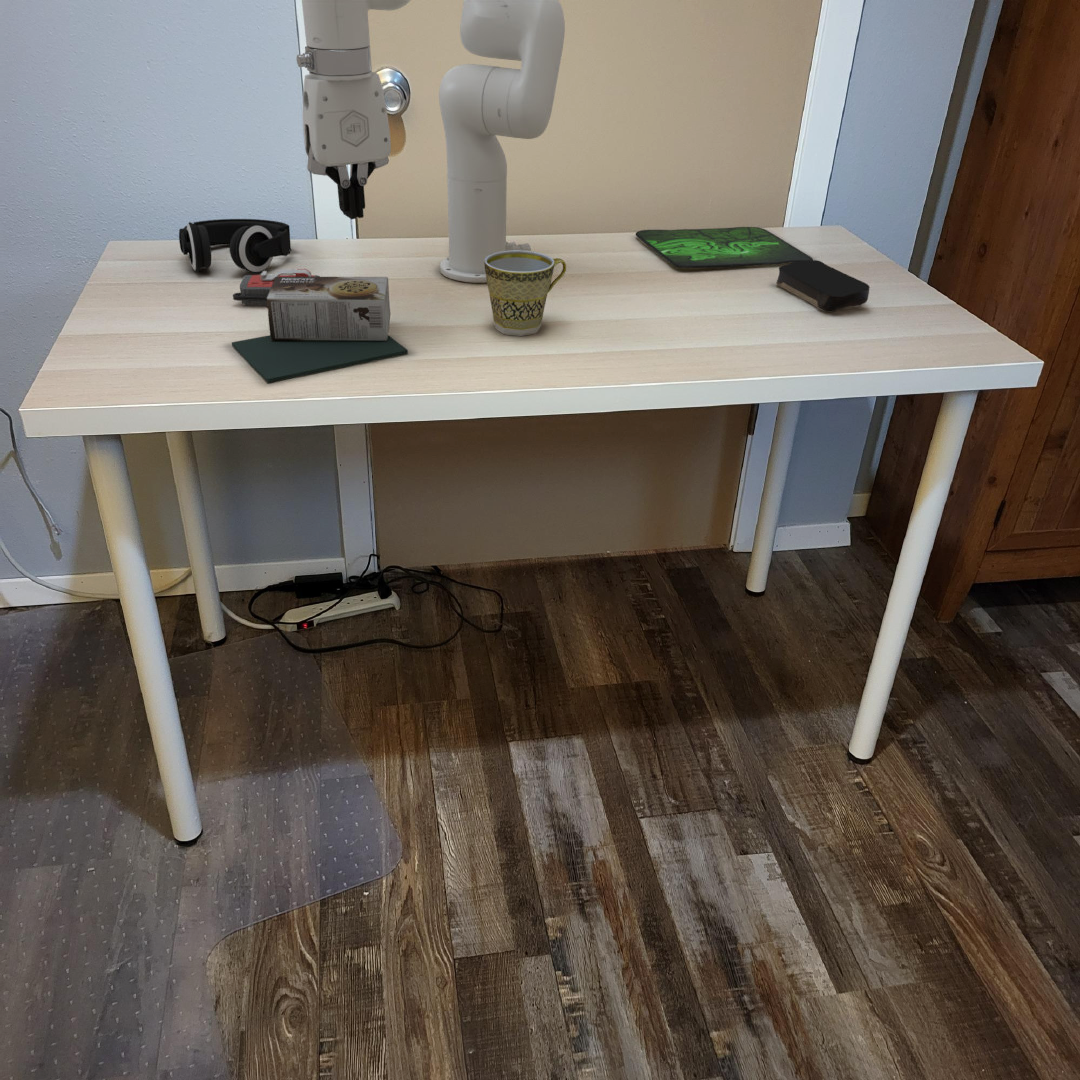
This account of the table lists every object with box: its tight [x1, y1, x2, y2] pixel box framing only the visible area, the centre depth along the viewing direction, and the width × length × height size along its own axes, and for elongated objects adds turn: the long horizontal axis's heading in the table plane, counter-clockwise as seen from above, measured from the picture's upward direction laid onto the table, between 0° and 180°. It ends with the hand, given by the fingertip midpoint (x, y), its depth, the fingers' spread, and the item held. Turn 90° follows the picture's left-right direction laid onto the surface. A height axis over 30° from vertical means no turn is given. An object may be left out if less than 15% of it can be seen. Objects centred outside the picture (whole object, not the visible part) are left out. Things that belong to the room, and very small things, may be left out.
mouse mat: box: [635, 226, 814, 269], centre depth 179 cm, size 27×22×1 cm
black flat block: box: [776, 259, 871, 313], centre depth 159 cm, size 16×8×4 cm, turn 22°
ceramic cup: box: [484, 250, 567, 337], centre depth 142 cm, size 13×10×10 cm
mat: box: [231, 334, 409, 384], centre depth 135 cm, size 20×14×1 cm
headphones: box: [178, 218, 292, 274], centre depth 164 cm, size 18×8×20 cm
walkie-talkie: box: [232, 268, 321, 307], centre depth 149 cm, size 9×4×20 cm
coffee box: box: [266, 276, 392, 341], centre depth 138 cm, size 9×6×16 cm
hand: (353, 215), depth 128 cm, fingers closed
